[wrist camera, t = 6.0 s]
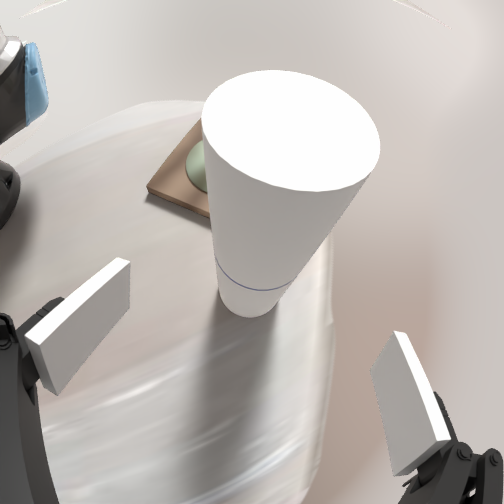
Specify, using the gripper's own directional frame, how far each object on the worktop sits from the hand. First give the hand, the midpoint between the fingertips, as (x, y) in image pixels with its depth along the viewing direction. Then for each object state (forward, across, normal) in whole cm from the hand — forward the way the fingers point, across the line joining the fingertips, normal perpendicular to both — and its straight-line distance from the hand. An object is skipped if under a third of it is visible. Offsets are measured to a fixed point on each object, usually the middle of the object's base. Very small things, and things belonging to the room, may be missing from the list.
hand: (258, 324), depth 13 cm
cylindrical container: (+19, -1, -9) cm, 21 cm away
